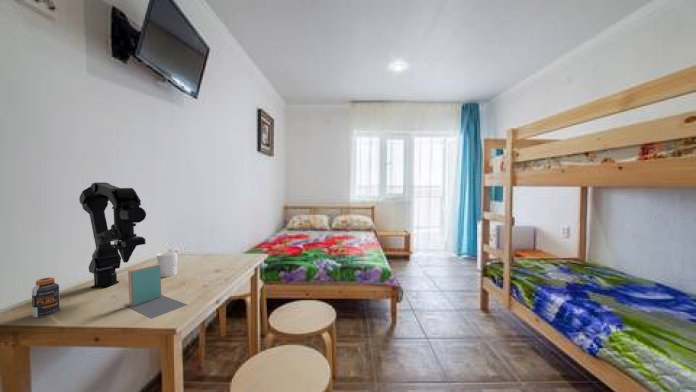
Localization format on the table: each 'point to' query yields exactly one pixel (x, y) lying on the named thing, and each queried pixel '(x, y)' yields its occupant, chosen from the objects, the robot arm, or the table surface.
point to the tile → (144, 284)
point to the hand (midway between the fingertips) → (125, 262)
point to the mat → (157, 306)
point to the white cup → (167, 263)
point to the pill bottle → (45, 297)
